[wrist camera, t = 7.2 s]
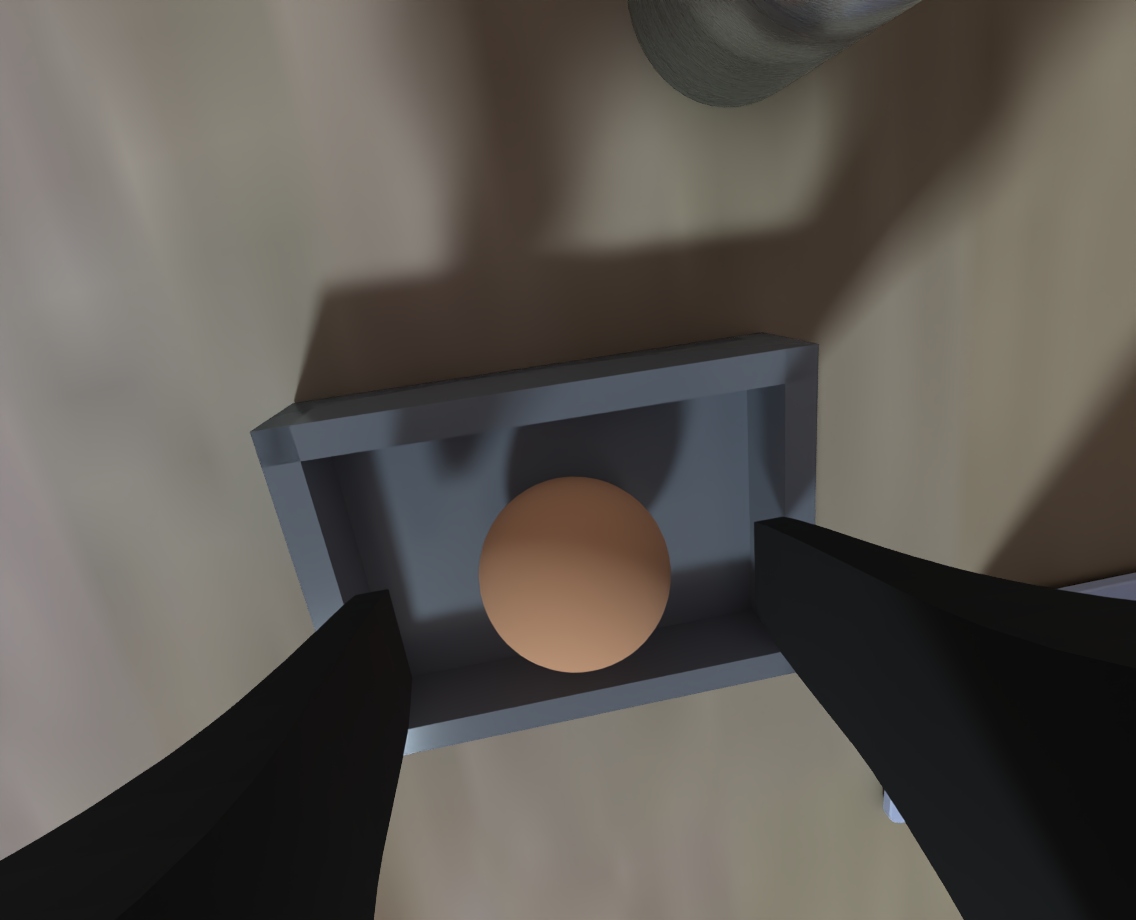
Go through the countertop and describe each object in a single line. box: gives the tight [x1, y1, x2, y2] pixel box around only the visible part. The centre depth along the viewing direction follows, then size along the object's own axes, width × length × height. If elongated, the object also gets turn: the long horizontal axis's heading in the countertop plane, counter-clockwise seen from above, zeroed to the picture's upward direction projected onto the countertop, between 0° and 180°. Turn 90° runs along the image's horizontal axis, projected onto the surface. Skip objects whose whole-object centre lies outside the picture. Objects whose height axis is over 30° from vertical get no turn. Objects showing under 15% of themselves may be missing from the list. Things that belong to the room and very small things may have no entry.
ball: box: [479, 476, 671, 673], centre depth 12 cm, size 4×4×4 cm
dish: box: [250, 333, 819, 755], centre depth 13 cm, size 11×8×2 cm
